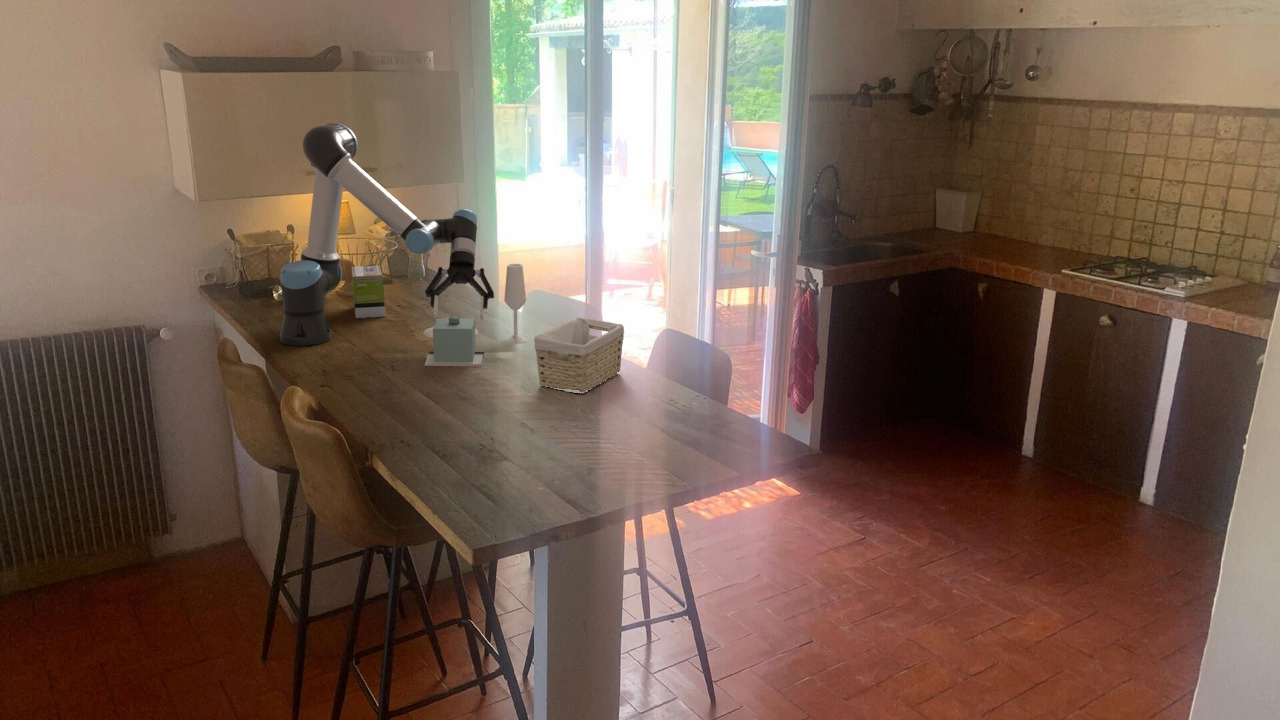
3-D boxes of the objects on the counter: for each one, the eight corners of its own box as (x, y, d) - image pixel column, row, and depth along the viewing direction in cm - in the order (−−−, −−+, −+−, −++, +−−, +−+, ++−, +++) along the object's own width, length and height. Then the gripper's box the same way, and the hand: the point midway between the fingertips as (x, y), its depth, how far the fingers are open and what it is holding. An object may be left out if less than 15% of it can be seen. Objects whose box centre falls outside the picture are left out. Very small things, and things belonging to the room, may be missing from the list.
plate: (446, 347, 288) (446, 332, 286) (412, 336, 298) (411, 321, 297) (489, 336, 301) (488, 321, 299) (454, 326, 311) (454, 311, 309)
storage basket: (582, 398, 250) (583, 345, 246) (531, 387, 257) (531, 335, 253) (625, 373, 270) (627, 324, 266) (577, 364, 277) (577, 315, 273)
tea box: (353, 307, 329) (350, 265, 325) (383, 305, 332) (381, 264, 328) (354, 318, 316) (352, 275, 311) (386, 317, 319) (383, 274, 314)
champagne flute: (530, 339, 299) (530, 265, 291) (516, 344, 294) (515, 268, 286) (514, 335, 302) (513, 262, 295) (500, 340, 297) (499, 265, 290)
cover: (472, 362, 273) (471, 323, 270) (434, 362, 272) (432, 323, 269) (475, 350, 284) (474, 313, 280) (438, 350, 283) (437, 313, 279)
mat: (481, 366, 272) (481, 363, 272) (424, 366, 271) (424, 364, 270) (484, 349, 287) (484, 347, 287) (431, 349, 286) (431, 347, 286)
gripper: (504, 263, 294) (501, 323, 284) (422, 261, 292) (417, 322, 282) (503, 250, 287) (500, 311, 278) (419, 248, 285) (413, 309, 276)
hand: (458, 317), depth 280 cm, fingers open, 13 cm apart
